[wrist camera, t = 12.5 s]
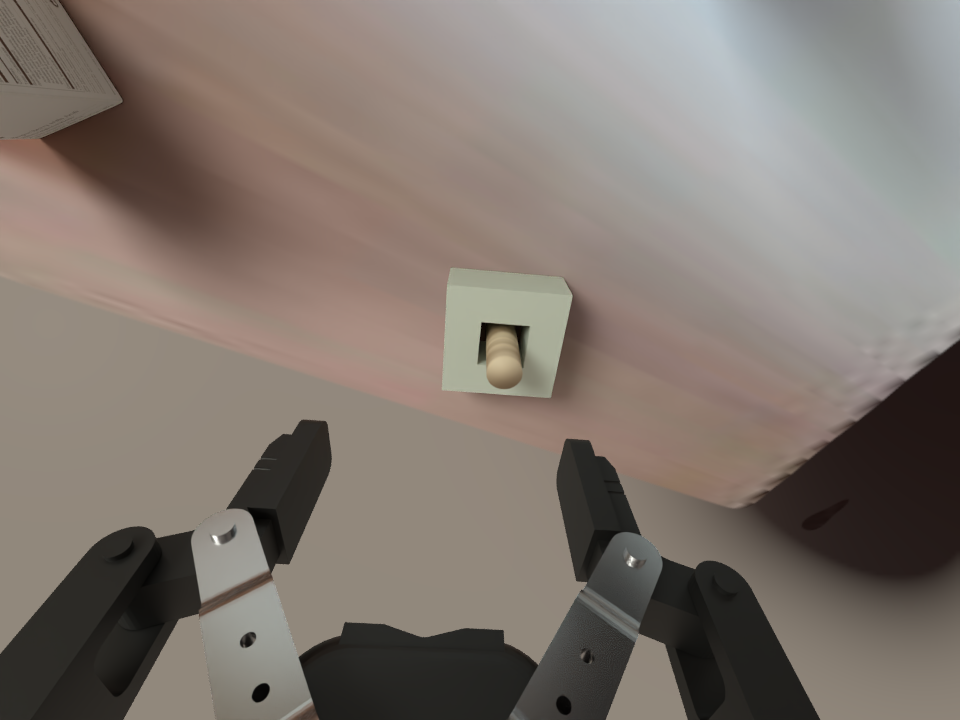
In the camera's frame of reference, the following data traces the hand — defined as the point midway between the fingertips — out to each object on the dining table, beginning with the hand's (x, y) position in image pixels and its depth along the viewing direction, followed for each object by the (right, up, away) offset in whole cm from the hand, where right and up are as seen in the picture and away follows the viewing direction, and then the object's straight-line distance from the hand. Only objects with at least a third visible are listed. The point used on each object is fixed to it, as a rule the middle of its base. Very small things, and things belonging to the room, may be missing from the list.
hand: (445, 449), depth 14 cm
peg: (+3, +7, +28) cm, 29 cm away
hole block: (+3, +7, +28) cm, 29 cm away
